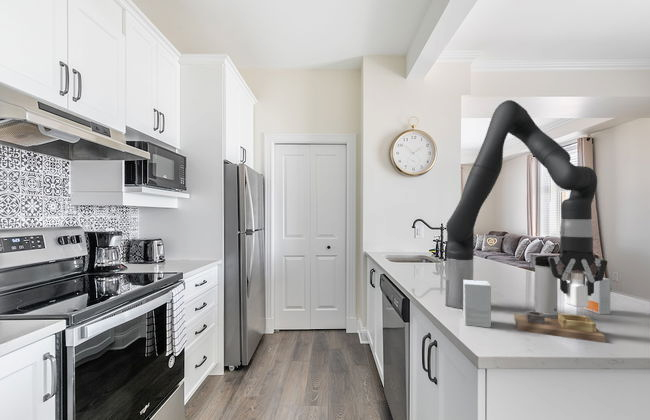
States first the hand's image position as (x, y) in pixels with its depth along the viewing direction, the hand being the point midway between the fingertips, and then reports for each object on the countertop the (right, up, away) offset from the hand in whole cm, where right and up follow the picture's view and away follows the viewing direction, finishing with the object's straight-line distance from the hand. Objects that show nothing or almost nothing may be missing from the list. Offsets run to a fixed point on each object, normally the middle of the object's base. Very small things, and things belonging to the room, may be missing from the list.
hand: (576, 293), depth 96 cm
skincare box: (+23, -12, +21) cm, 33 cm away
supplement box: (-26, -11, +7) cm, 29 cm away
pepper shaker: (0, -4, 0) cm, 4 cm away
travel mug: (+1, -11, +15) cm, 19 cm away
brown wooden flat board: (-5, -11, +2) cm, 12 cm away
